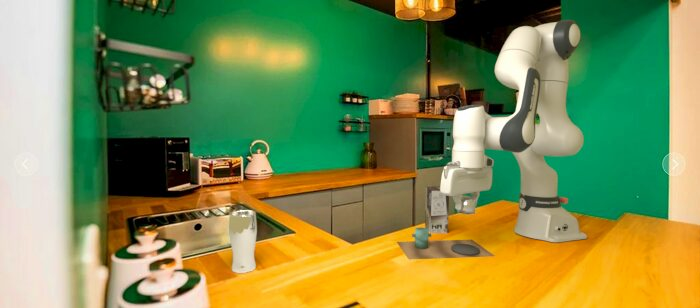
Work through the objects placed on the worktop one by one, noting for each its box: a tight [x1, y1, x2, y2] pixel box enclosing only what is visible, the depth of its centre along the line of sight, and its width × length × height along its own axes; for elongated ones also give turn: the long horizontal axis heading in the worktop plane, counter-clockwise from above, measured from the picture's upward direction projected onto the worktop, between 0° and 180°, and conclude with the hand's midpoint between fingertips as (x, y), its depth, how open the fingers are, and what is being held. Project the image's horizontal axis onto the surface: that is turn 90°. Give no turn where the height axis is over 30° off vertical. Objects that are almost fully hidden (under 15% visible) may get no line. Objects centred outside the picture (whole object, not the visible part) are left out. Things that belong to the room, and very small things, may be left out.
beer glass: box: [228, 209, 258, 274], centre depth 86 cm, size 7×7×15 cm
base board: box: [396, 227, 495, 260], centre depth 97 cm, size 25×14×7 cm, turn 96°
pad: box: [451, 244, 480, 256], centre depth 96 cm, size 8×8×1 cm
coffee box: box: [424, 185, 450, 234], centre depth 116 cm, size 9×6×16 cm
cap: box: [456, 194, 476, 215], centre depth 95 cm, size 5×5×5 cm
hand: (466, 207), depth 95 cm, fingers closed on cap, 5 cm apart
